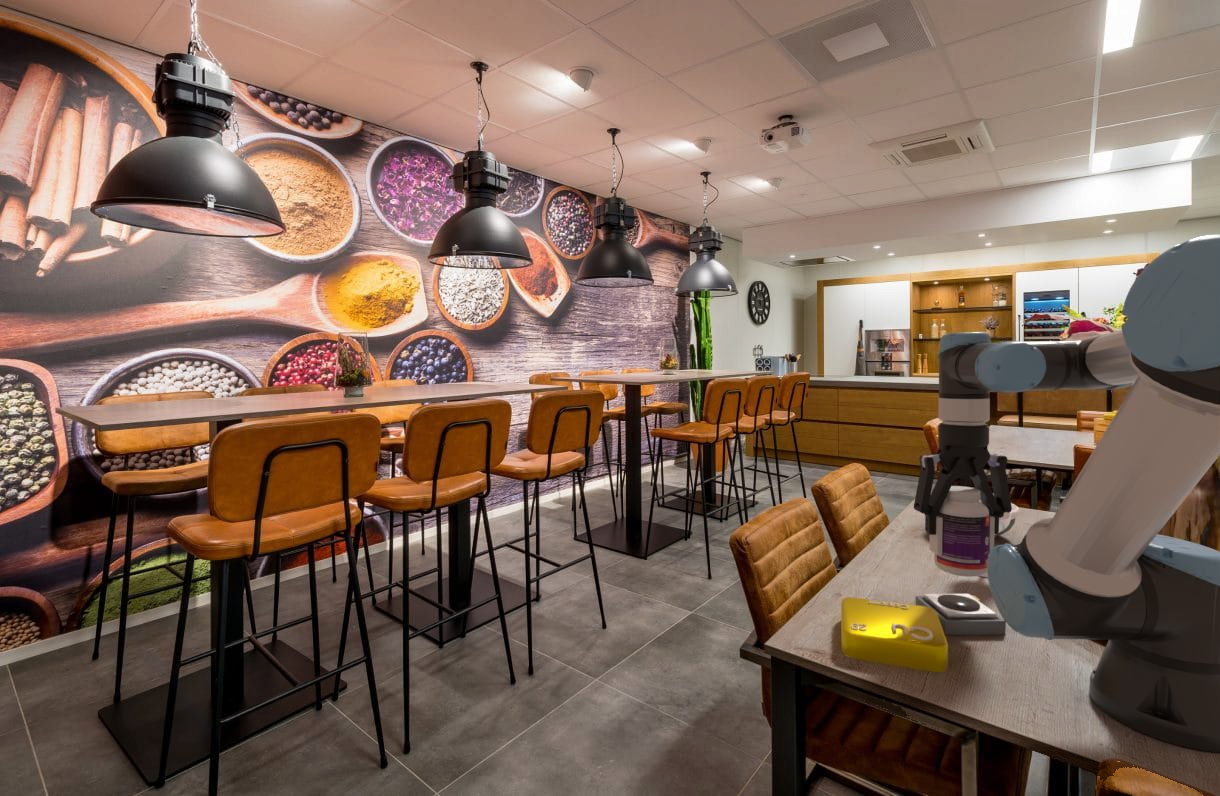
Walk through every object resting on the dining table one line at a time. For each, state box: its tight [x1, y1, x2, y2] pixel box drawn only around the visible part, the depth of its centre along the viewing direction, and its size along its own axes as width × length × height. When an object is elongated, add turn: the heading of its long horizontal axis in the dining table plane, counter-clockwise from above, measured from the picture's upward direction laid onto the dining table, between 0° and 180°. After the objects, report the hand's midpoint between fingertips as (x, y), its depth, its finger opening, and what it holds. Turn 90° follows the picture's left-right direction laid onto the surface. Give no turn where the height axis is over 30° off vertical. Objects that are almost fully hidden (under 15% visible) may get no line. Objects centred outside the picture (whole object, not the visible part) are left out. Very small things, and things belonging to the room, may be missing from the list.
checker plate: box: [923, 593, 997, 620], centre depth 101 cm, size 8×8×2 cm
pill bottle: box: [934, 485, 989, 577], centre depth 100 cm, size 8×8×14 cm
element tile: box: [840, 596, 949, 673], centre depth 95 cm, size 15×15×5 cm
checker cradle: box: [915, 594, 1007, 636], centre depth 101 cm, size 10×10×3 cm
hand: (961, 552), depth 100 cm, fingers closed on pill bottle, 8 cm apart
